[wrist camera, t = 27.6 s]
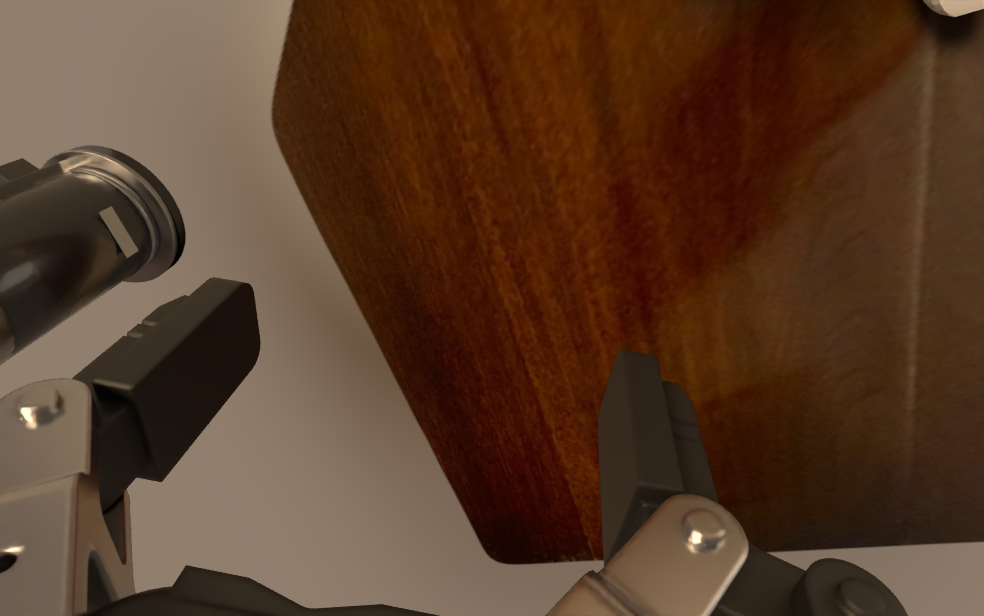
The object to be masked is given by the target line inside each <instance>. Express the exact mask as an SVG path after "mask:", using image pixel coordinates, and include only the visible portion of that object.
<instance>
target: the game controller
mask: <svg viewBox="0 0 984 616" xmlns="http://www.w3.org/2000/svg"><path fill="white" fill-rule="evenodd" d="M923 1H924V3H925V4H926V5H927V6H928V7H929V8H930V9H931V10H933V11H935V12H937V13H938V14H941V15H947V16H952V17H957V16H960V15H964V14H967V13H971V12H974V11H977V10H981V9H984V0H923Z"/></svg>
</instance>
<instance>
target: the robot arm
mask: <svg viewBox="0 0 984 616" xmlns="http://www.w3.org/2000/svg"><path fill="white" fill-rule="evenodd" d="M158 248H159V234H158V229H157V226H156V223H155V221H154V218H153V216H152V214H151V213H150V211H149V209H148V208H147V206H146V205H145V203H144V202H143V201H142V200H141V199H140V197H139V196H138V195H137V194H136V193H135V192H134V191H133V190H132V189H131V188H129V187H128V186H127V185H126V184H124V183H123V182H122V181H120V180H119V179H117V178H115V177H114V176H112V175H110V174H108V173H105V172H103V171H100V170H97V169H93V168H88V167H74V166H72V165H70V164H69V163H67V162H66V161H64V160H63V161H60V162H57V163H54V164H52V165H49V166H46V167H44V168H41V169H38V168H37V167H35V166H33V165H32V164H30V163H29V162H27V161H26V160H24V159H23V158H22V159H19V160H16V161H13V162H10V163H8V164H5V165H2V166H0V365H1V364H3V363H4V362H6V361H7V360H8V359H10V358H11V357H13V356H14V355H16V354H17V353H18V352H20V351H21V350H23V349H24V348H26V347H27V346H29V345H30V344H32V343H33V342H35V341H36V340H37V339H39V338H40V337H42V336H43V335H44V334H46V333H47V332H49V331H50V330H52V329H53V328H55V327H56V326H58V325H59V324H61V323H62V322H64V321H65V320H67V319H68V318H69V317H71V316H72V315H74V314H75V313H77V312H78V311H80V310H81V309H83V308H84V307H85V306H87V305H88V304H90V303H91V302H93V301H94V300H96V299H97V298H99V297H100V296H101V295H103V294H104V293H106V292H107V291H109V290H110V289H112V288H113V287H114V286H116V285H117V284H119V283H120V282H122V281H123V280H125V279H126V278H128V277H130V276H132V275H133V274H135V273H136V272H138V271H140V270H141V269H143V268H144V267H146V266H147V265H149V264H150V263H151V262H152V261H153V260H154V258H155V257H156V255H157V252H158ZM259 351H260V334H259V327H258V320H257V312H256V305H255V297H254V291H253V288H252V287H251V285H250V284H248V283H243V282H238V281H232V280H226V279H220V278H215V277H214V278H210V279H209V280H207V281H206V282H205V283H204V284H203V285H201V286H200V287H199V288H198V289H197V290H195V291H194V292H193V293H192V294H191V295H190V296H185V295H184V296H182V297H180V298H178V299H175V300H173V301H170V302H168V303H166V304H164V305H162V306H159V307H158V308H157V309H156V310H155V311H153V312H152V313H151V314H150V315H149V316H147V317H146V318H145V319H144V320H142V324H138V325H137V326H135V327H134V328H133V329H132V330H130V331H129V332H128V333H127V336H123V337H122V338H121V339H119V340H118V341H117V342H116V343H114V344H113V345H112V346H111V347H110V348H108V349H107V350H106V351H105V352H103V353H102V354H101V355H100V356H99V357H97V358H96V359H95V360H94V361H93V362H91V363H90V364H89V365H88V366H87V367H85V368H84V369H83V370H82V371H81V372H79V373H78V374H77V375H76V376H74V377H73V378H72V379H65V378H58V379H49V380H43V381H39V382H34V383H32V384H28V385H26V386H23V387H21V388H18V389H16V390H14V391H12V392H11V393H9V394H7V395H6V396H4V397H3V398H1V399H0V616H438V615H433V614H428V613H423V612H418V611H413V610H408V609H403V608H398V607H392V606H388V605H383V604H379V605H363V606H348V607H332V608H318V609H317V608H316V609H311V608H306V607H303V606H301V605H299V604H297V603H295V602H293V601H292V600H290V599H288V598H286V597H284V596H282V595H280V594H278V593H277V592H274V591H273V590H271V589H269V588H267V587H265V586H263V585H262V584H260V583H258V582H256V581H254V580H252V579H250V578H247V577H242V576H237V575H232V574H227V573H222V572H217V571H212V570H207V569H202V568H197V567H192V566H187V565H186V566H185V568H184V570H183V571H182V572H181V574H180V576H179V577H178V579H177V580H176V582H175V583H174V585H173V586H172V587H163V588H158V589H152V590H147V591H144V592H140V593H137V594H136V593H135V587H134V582H133V581H134V580H133V564H132V542H131V521H130V499H129V494H128V492H127V488H128V486H129V485H130V484H131V483H132V482H133V481H134V480H135V478H136V477H137V478H142V479H147V480H153V481H158V482H162V481H163V480H164V479H165V477H166V476H167V475H168V474H169V472H170V471H171V470H172V469H173V467H174V466H175V465H176V464H177V462H178V461H179V460H180V459H181V457H182V456H183V455H184V453H185V452H186V451H187V450H188V449H189V447H190V446H191V445H192V444H193V442H194V441H195V440H196V439H197V437H198V436H199V435H200V434H201V432H202V431H203V430H204V429H205V427H206V426H207V425H208V424H209V422H210V421H211V420H212V418H213V417H214V416H215V415H216V414H217V412H218V411H219V410H220V409H221V407H222V406H223V405H224V404H225V402H226V401H227V400H228V399H229V397H230V396H231V395H232V394H233V392H234V391H235V390H236V388H237V387H238V386H239V385H240V384H241V382H242V381H243V380H244V379H245V377H246V376H247V375H248V373H249V372H250V371H251V370H252V369H253V367H254V365H255V364H256V361H257V359H258V356H259ZM598 446H599V468H600V490H601V511H602V533H603V554H604V568H603V569H602V570H601V571H600V572H598V573H596V572H595V571H593V570H592V571H589V572H588V573H586V574H585V575H584V576H583V577H582V578H580V580H578V581H577V583H576V584H575V585H574V586H573V587H572V588H571V589H570V590H569V591H568V592H567V593H566V594H565V595H564V596H563V597H562V598H561V600H560V601H559V602H558V603H557V604H556V605H555V606H554V607H553V608H552V609H551V610H550V611H549V612H548V613H547V614H546V615H545V616H908V615H907V613H906V611H905V609H904V608H903V606H902V604H901V603H900V602H899V600H898V599H897V597H896V596H895V595H894V594H893V593H892V592H891V590H890V589H888V588H887V587H886V586H885V585H884V584H883V583H882V582H881V581H880V580H879V579H877V578H876V577H875V576H873V575H872V574H870V573H869V572H867V571H866V570H864V569H862V568H860V567H859V566H856V565H854V564H852V563H849V562H847V561H843V560H839V559H833V558H826V559H820V560H818V561H815V562H814V563H813V564H811V565H810V567H809V568H808V569H807V571H805V570H802V569H800V568H798V567H796V566H794V565H792V564H790V563H788V562H785V561H783V560H781V559H779V558H777V557H775V556H772V555H770V554H768V553H766V552H764V551H762V550H760V549H759V548H757V547H755V546H754V545H752V544H751V543H749V542H748V540H747V537H746V534H745V532H744V530H743V528H742V527H741V525H740V524H739V522H738V521H737V520H736V519H735V517H734V516H733V515H732V514H731V513H730V512H728V511H727V510H726V509H725V508H723V507H722V506H721V505H719V502H718V498H717V494H716V491H715V487H714V483H713V479H712V476H711V472H710V468H709V464H708V460H707V457H706V453H705V449H704V445H703V442H701V434H700V430H699V426H697V419H696V415H695V411H694V407H693V404H692V402H691V400H690V399H689V398H688V396H687V395H686V394H685V393H684V391H683V390H682V389H681V387H680V386H679V385H678V384H677V383H671V382H665V381H662V380H661V375H660V370H659V365H658V360H657V357H656V356H655V355H650V354H644V353H638V352H632V351H627V350H621V349H620V350H619V351H618V353H617V356H616V358H615V362H614V365H613V368H612V371H611V375H610V378H609V381H608V384H607V388H606V391H605V394H604V397H603V401H602V404H601V408H600V413H599V421H598Z"/></svg>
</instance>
